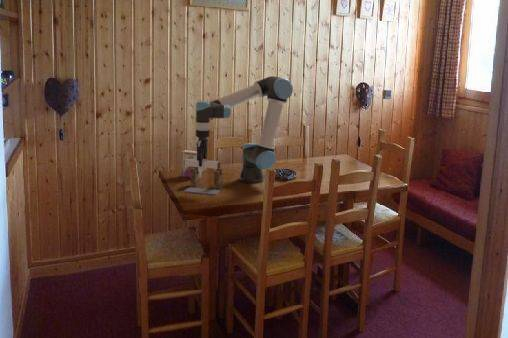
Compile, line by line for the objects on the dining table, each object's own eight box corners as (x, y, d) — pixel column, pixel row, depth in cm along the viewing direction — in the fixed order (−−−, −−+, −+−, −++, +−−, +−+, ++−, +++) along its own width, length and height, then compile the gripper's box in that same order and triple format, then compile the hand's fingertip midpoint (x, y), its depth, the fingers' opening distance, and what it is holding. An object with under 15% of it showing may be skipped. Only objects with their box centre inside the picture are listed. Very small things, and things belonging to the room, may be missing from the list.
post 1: (199, 184, 300) (199, 166, 298) (195, 187, 294) (195, 169, 291) (194, 183, 301) (194, 166, 299) (190, 186, 294) (190, 169, 292)
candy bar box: (181, 177, 315) (181, 151, 311) (185, 175, 319) (185, 149, 315) (197, 179, 311) (198, 153, 307) (201, 177, 316) (201, 151, 312)
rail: (220, 167, 281) (220, 161, 281) (218, 169, 278) (218, 162, 277) (185, 164, 285) (185, 158, 284) (183, 165, 282) (183, 159, 281)
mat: (220, 191, 287) (220, 190, 287) (216, 195, 280) (216, 194, 280) (188, 188, 291) (188, 187, 291) (183, 192, 283) (183, 191, 283)
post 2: (222, 186, 298) (222, 168, 295) (218, 189, 291) (218, 171, 288) (217, 185, 298) (217, 168, 296) (213, 188, 291) (213, 171, 289)
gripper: (200, 126, 285) (200, 167, 291) (191, 131, 270) (190, 173, 275) (213, 127, 284) (212, 168, 289) (204, 132, 268) (203, 175, 274)
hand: (201, 170), depth 282 cm, fingers closed on rail, 3 cm apart
